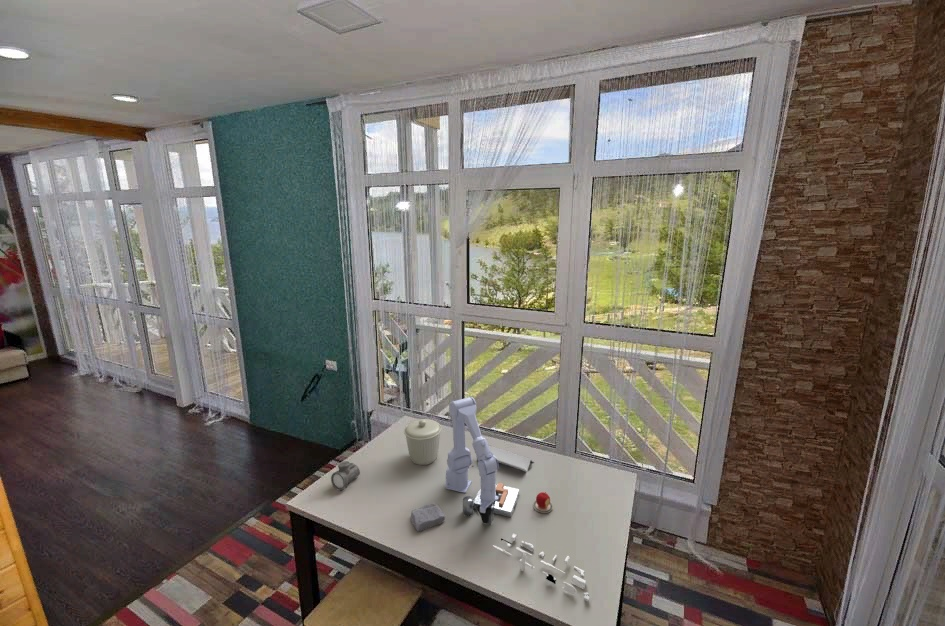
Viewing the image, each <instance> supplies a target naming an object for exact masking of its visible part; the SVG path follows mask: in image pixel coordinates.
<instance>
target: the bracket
mask: <svg viewBox="0 0 945 626" xmlns="http://www.w3.org/2000/svg"><path fill="white" fill-rule="evenodd" d="M504 486H505V484H504V483H501V482H498V483H497V487H496V491H497V492H500V493H503V494H502V497H501V499H500V500H498V502H499V505H500V506H503V504H504V501H505V499H506V496H507V494H508V489H503V487H504Z"/></svg>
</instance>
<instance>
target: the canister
mask: <svg viewBox="0 0 945 626" xmlns="http://www.w3.org/2000/svg"><path fill="white" fill-rule="evenodd" d="M441 432H442V425H441V424H440V423H439V422H438V421H436V420H434V419H429V418H422V419H421V418H420V419H416V420H413V421H411V422H409V423H408V424H406V426H404V428H403V434H404V435H405V439H406V444H407V449H408V455H409V458H410V460H411V462H413V463H414V464H415V465H418V466H425V465H429V464H431V463H434V462H435V461H436V460H437V458H438V454H439V449H440V440H441V439H440V438H441V437H440V436H441Z"/></svg>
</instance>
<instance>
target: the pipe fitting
mask: <svg viewBox="0 0 945 626" xmlns="http://www.w3.org/2000/svg"><path fill="white" fill-rule="evenodd" d="M337 467H338V470H337V471H335V472H333V473H332V474H331V476H330V482H331V484H332V486H333V488H334V489H336V490H337V491H342V490H344V489H346V488H347V486H348V484H349V483H350V482H351V481H353V480H355V479H356V478H358V477H359V476H360V474H361V470H360V467H359V466H358V465H357V464H355V463H354V462H350V461H348V460H343V461H340V462H339V463H338V464H337Z"/></svg>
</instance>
